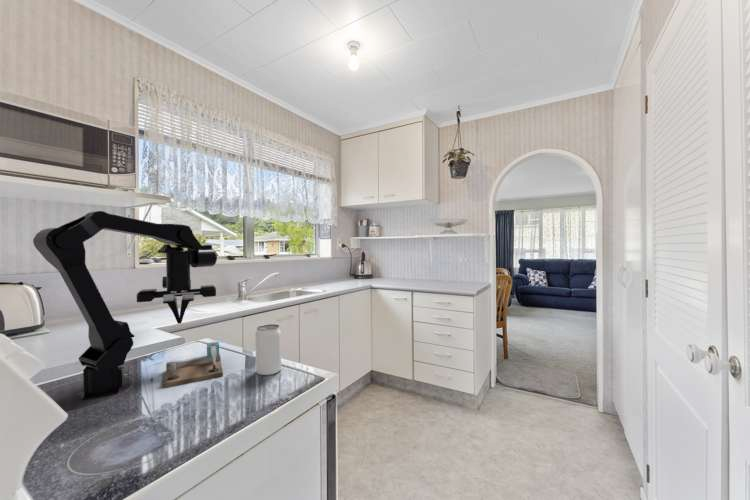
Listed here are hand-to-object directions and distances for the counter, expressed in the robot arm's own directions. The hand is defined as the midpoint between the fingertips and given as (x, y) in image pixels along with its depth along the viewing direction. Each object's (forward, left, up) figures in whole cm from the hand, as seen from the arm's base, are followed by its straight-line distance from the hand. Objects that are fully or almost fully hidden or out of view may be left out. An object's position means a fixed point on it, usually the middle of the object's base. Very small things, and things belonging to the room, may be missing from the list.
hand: (179, 323), depth 89 cm
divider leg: (+8, -8, -10) cm, 15 cm away
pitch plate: (+4, -9, -12) cm, 15 cm away
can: (+21, -18, -12) cm, 30 cm away
